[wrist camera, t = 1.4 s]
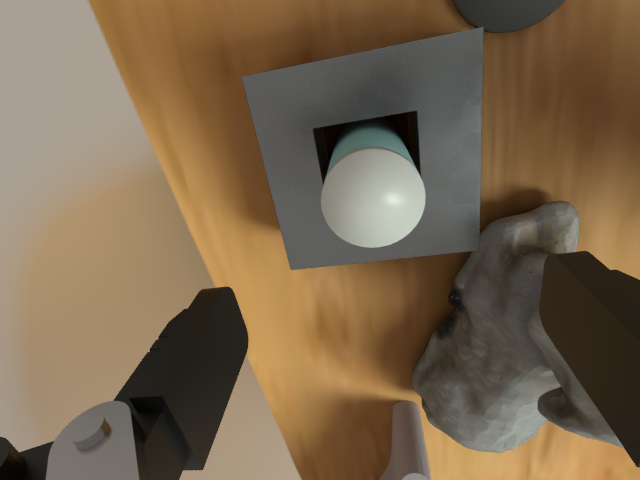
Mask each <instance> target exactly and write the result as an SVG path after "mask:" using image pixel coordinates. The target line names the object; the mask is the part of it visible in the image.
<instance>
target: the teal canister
mask: <svg viewBox="0 0 640 480" xmlns="http://www.w3.org/2000/svg"><path fill="white" fill-rule="evenodd" d="M424 207H425V188H424V184H423V181H422V179H421V177H420V175H419V173H418V171H417V169H416V167H415V165H414V163H413V161H412V159H411V157H410V155H409V153H408V151H407V149H406V147H405V145H404V143H403V141H402V139H401V137H400V135H399V133H398V131H397V129H396V128H395V127H394V125H393V124H392V123H390V122H389V121H388V120H386V119H384V118H382V117H376V118H371V119H365V120H359V121H353V122H348V123H347V124H346V125H345V126H344V127H343V128H342V130H341V131H340V133H339V135H338V137H337V140H336V143H335V147H334V150H333V154H332V157H331V161H330V164H329V168H328V171H327V175H326V178H325V181H324V185H323V188H322V193H321V208H322V212H323V216H324V218H325V220H326V222H327V224H328V225H329V227H330V228H331V229H332V231H333V232H334V233H335V234H336V235H338V236H339V237H340V238H341V239H343V240H345V241H346V242H349V243H351V244H353V245H357V246H361V247H369V248H375V247H383V246H387V245H390V244H393V243H395V242H397V241H399V240H401V239H402V238H404V237H405V236H407V235H408V234H409V233H410V232H411V231H412V230H413V229H414V228H415V226H416V225H417V224H418V222H419V220H420V218H421V216H422V214H423V211H424Z"/></svg>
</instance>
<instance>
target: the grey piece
mask: <svg viewBox="0 0 640 480" xmlns="http://www.w3.org/2000/svg"><path fill="white" fill-rule="evenodd" d="M379 480H431V476H430V470H429V464H428V458H427V452H426V446H425V440H424V434H423V428H422V422H421V416H420V410H419V407H418V405H417V404H416V403H414V402H412V401H400V402H397V403H396V404H395V405H394V406H393V408H392V447H391V456H390V460H389V463H388V466H387V468H386V470H385V471H384V473H383V475H382V476H381V477H380V479H379Z"/></svg>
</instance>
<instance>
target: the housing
mask: <svg viewBox="0 0 640 480" xmlns="http://www.w3.org/2000/svg"><path fill="white" fill-rule="evenodd" d="M483 29H484V27H480V28H475V29H470V30H465V31H460V32H455V33H450V34H446V35H441V36H436V37H431V38H426V39H421V40H417V41H412V42H407V43H402V44H397V45H392V46H388V47H383V48H378V49H373V50H368V51H363V52H359V53H354V54H349V55H344V56H339V57H334V58H329V59H325V60H320V61H315V62H310V63H305V64H300V65H296V66H291V67H286V68H281V69H276V70H271V71H267V72H262V73H257V74H252V75H247V76H242V81H243V85H244V89H245V93H246V97H247V101H248V105H249V108H250V112H251V116H252V120H253V124H254V128H255V132H256V136H257V140H258V144H259V148H260V151H261V155H262V159H263V163H264V167H265V171H266V175H267V179H268V183H269V187H270V190H271V194H272V198H273V202H274V206H275V210H276V214H277V218H278V222H279V226H280V230H281V233H282V237H283V241H284V245H285V249H286V253H287V257H288V261H289V265H290V269H291V270H296V269H306V268H315V267H325V266H335V265H344V264H354V263H363V262H373V261H382V260H392V259H402V258H411V257H421V256H430V255H440V254H449V253H459V252H469V251H478V250H479V242H480V189H481V136H482V83H483ZM405 112H407V118H408V132H409V146H410V157H411V159H412V161H413V163H414V165H415V167H416V169H417V171H418V173H419V175H420V177H421V179H422V181H423V184H424V188H425V207H424V211H423V214H422V216H421V218H420V220H419V222H418V224H417V225H416V226H415V228H414V229H413V230H412V231H411V232H410V233H409V234H408V235H407V236H405V237H404V238H402V239H401V240H399V241H397V242H395V243H393V244H390V245H387V246H383V247H375V248H369V247H361V246H357V245H353V244H351V243H349V242H346V241H345V240H343V239H341V238H340V237H339V236H338V235H336V234H335V233H334V232H333V231H332V229H331V228H330V227H329V225H328V224H327V222H326V220H325V218H324V216H323V212H322V208H321V193H322V188H323V185H324V181H325V178H326V175H327V171H328V168H329V164H330V163H329V157H328V151H327V145H326V139H325V134H324V128H323V127H325V126H330V125H336V124H342V123H348V122H353V121H359V120H365V119H371V118H376V117H382V116H388V115H394V114H399V113H405Z"/></svg>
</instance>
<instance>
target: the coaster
mask: <svg viewBox="0 0 640 480" xmlns="http://www.w3.org/2000/svg"><path fill="white" fill-rule="evenodd" d="M564 1H565V0H453V2H454V4H455V6H456V8H457V9H458V11H459V12H460V14H461V15H462V16H463V17H464V18H465V19H466V20H467V21H468V22H469V23H471V24H472V25H473V26H475V27H477V28H480V27H484V29H483V30H484V31H488V32H494V33H505V32H512V31H517V30H521V29H524V28H527V27H529V26H532V25H534V24H536V23H538V22H539V21H541V20H543V19H544V18H546V17H547V16H548V15H550V14H551V13H552V12H553V11H554V10H556V9H557V8H558V7H559V6H560V5H561V4H562V3H563V2H564Z"/></svg>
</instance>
